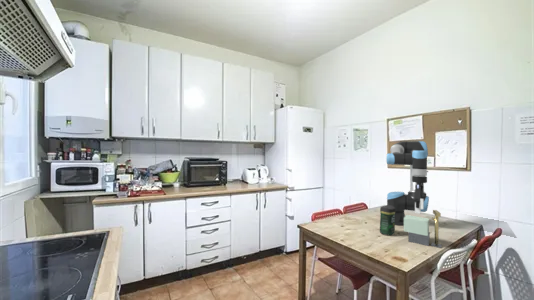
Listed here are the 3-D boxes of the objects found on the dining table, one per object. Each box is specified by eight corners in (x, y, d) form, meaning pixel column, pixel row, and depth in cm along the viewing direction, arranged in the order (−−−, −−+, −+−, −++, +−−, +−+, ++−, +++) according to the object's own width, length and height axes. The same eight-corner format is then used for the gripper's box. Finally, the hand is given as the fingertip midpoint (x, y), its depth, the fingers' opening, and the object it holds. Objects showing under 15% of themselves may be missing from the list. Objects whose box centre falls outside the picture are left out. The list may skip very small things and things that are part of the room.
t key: (431, 240, 138) (431, 209, 138) (436, 241, 137) (436, 209, 137) (435, 246, 130) (435, 212, 130) (440, 246, 129) (441, 213, 129)
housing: (408, 241, 139) (408, 231, 139) (410, 238, 144) (410, 228, 144) (440, 248, 129) (441, 238, 129) (441, 245, 134) (441, 234, 134)
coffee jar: (390, 236, 146) (390, 207, 146) (377, 233, 153) (378, 205, 152) (397, 233, 152) (397, 205, 152) (384, 230, 158) (385, 203, 158)
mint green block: (403, 231, 140) (403, 218, 140) (406, 227, 147) (406, 214, 147) (427, 235, 132) (427, 222, 132) (429, 231, 139) (429, 218, 139)
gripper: (424, 178, 126) (424, 216, 126) (429, 174, 145) (429, 208, 145) (408, 177, 131) (408, 213, 131) (415, 174, 150) (415, 206, 150)
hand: (419, 211), depth 138 cm, fingers open, 13 cm apart
